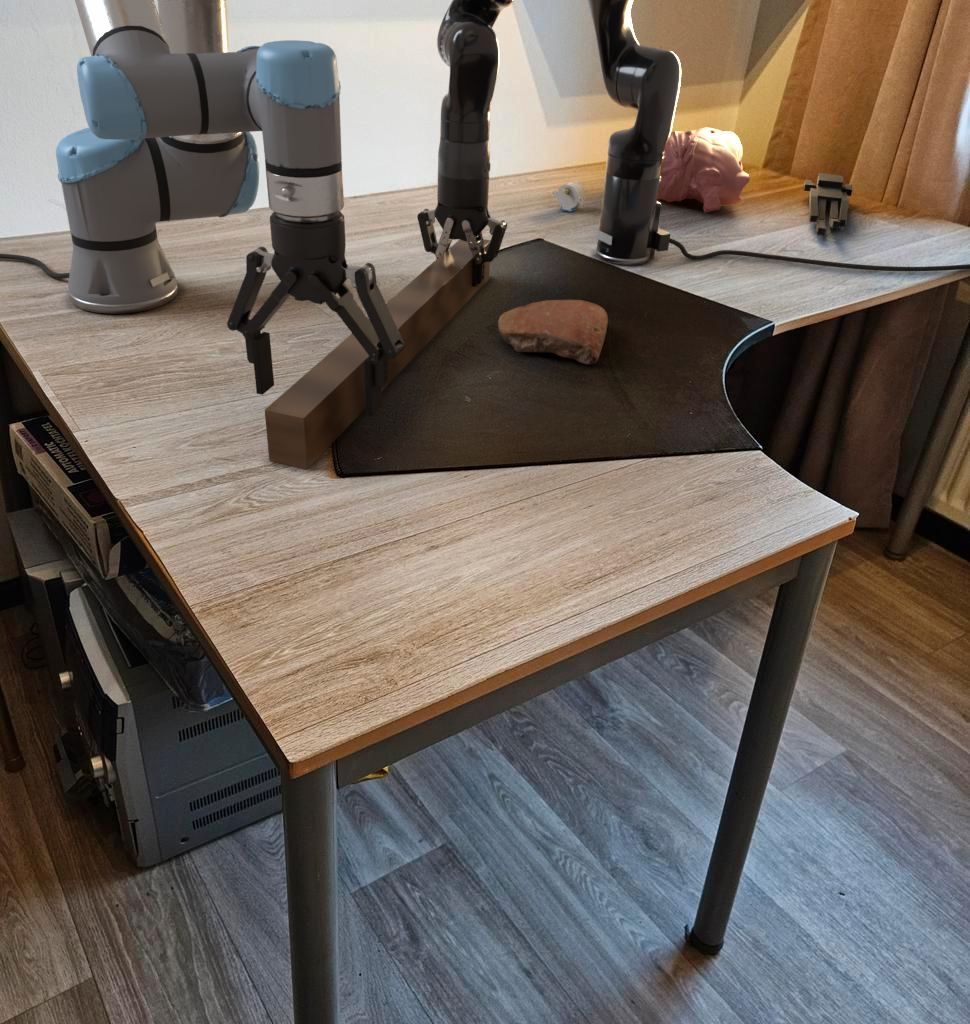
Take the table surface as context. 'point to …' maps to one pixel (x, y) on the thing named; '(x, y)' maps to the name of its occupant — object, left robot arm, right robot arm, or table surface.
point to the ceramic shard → (557, 328)
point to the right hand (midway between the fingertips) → (460, 282)
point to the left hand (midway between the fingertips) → (318, 400)
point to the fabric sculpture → (703, 168)
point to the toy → (828, 201)
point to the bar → (340, 375)
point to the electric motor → (570, 196)
